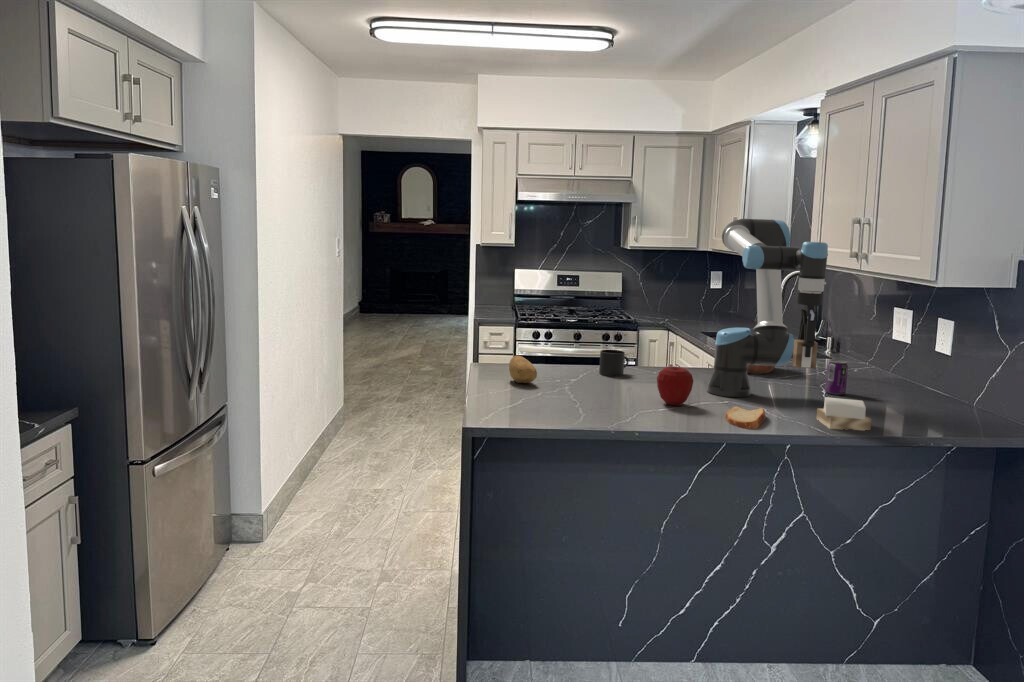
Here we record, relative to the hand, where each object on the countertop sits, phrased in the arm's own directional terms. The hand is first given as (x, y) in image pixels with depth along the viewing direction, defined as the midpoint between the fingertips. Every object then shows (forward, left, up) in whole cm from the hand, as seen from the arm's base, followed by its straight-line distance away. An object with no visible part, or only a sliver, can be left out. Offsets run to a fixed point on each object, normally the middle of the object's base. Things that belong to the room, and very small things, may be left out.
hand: (803, 365), depth 251 cm
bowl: (-6, +82, -17) cm, 84 cm away
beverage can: (+20, +44, -17) cm, 51 cm away
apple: (-39, +5, -17) cm, 43 cm away
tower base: (+12, -5, -17) cm, 22 cm away
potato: (-93, +22, -17) cm, 97 cm away
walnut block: (0, 0, 0) cm, 0 cm away
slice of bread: (-16, -9, -17) cm, 26 cm away
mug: (-61, +52, -17) cm, 82 cm away
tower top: (+12, -5, -13) cm, 19 cm away
